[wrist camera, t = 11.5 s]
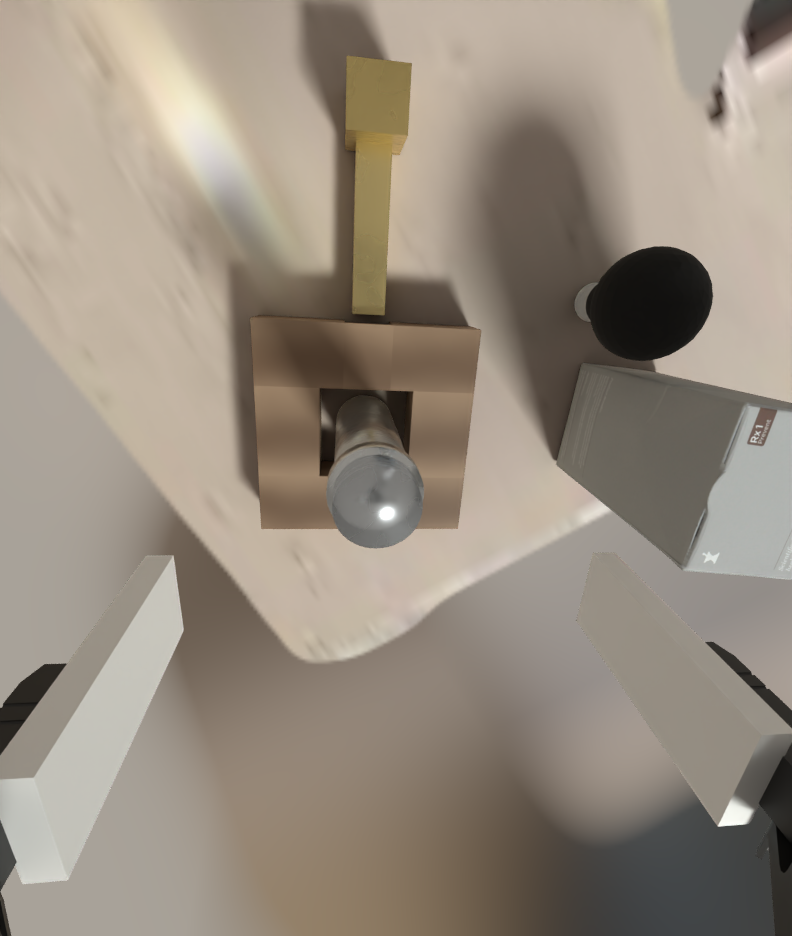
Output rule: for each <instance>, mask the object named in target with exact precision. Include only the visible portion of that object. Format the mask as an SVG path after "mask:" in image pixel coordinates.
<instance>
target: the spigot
mask: <svg viewBox="0 0 792 936" xmlns="http://www.w3.org/2000/svg"><path fill="white" fill-rule="evenodd" d="M326 498H327V504H328V507H329V510H330V512H331V514H332V516H333V519H334V522H335V524H336V526H337V528H338V530H339V531H340V532H341V534H342V535H343V536H344V537H346V538H347V539H348V540H349V541H351V542H353V543H355V544H357V545H359V546H363V547H367V548H384V547H389V546H392V545H395V544H397V543H399V542H401V541H403V540H404V539H405V538H407V537H408V536H409V535H410V534H411V533H412V532H413V531H414V530H415V528H416V527H417V525H418V523H419V521H420V519H421V515H422V510H423V498H424V485H423V481H422V477H421V475H420V473H419V470H418V468H417V466H416V464H415V462H414V461H413V459H412V458H411V457H410V456H409V455H408V454H407V453H406V452H405V450H404V448H403V445H402V442H401V440H400V437H399V434H398V432H397V429H396V426H395V424H394V421H393V418H392V416H391V413H390V411H389V409H388V407H387V406H386V405H385V404H384V403H383V402H382V401H381V400H380V399H378V398H376V397H373V396H369V395H360V396H356V397H353V398H351V399H349V400H348V401H346V402H345V403H344V404H343V405H342V407H341V408H340V410H339V412H338V415H337V420H336V439H335V459H334V464H333V465H332V467H331V469H330V472H329V475H328V479H327V491H326Z"/></svg>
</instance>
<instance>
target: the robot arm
mask: <svg viewBox="0 0 792 936" xmlns="http://www.w3.org/2000/svg"><path fill="white" fill-rule="evenodd" d="M576 621H577V623H578V624H579V625H580V627H581V628H582V630H583V631H584V633H585V634H586V636H587V637H588V639H589V640H590V641H591V643H592V644H593V646H594V647H595V649H596V650H597V652H598V653H599V655H600V656H601V657H602V659H603V660H604V662H605V663H606V665H607V666H608V668H609V669H610V671H611V672H612V673H613V675H614V676H615V678H616V679H617V680H618V682H619V684H620V685H621V686H622V688H623V689H624V691H625V692H626V694H627V695H628V697H629V698H630V700H631V701H632V702H633V704H634V705H635V707H636V708H637V710H638V711H639V712H640V714H641V716H642V717H643V718H644V720H645V721H646V723H647V724H648V725H649V727H650V729H651V730H652V731H653V733H654V734H655V736H656V737H657V739H658V740H659V742H660V743H661V745H662V746H663V748H664V749H665V750H666V752H667V753H668V754H669V756H670V758H671V759H672V761H673V762H674V763H675V765H676V766H677V768H678V769H679V771H680V772H681V773H682V775H683V777H684V778H685V779H686V781H687V782H688V784H689V785H690V787H691V788H692V790H693V791H694V793H695V794H696V795H697V797H698V798H699V799H700V801H701V803H702V804H703V806H704V807H705V808H706V810H707V811H708V813H709V814H710V816H711V817H712V819H713V820H714V822H715V823H716V824H717V826H729V825H741V824H750V822H751V820H752V818H753V816H754V814H755V812H756V810H757V809H758V807H759V805H760V806H761V807H762V808H763V809H764V811H765V812H766V813H767V814H768V816H769V817H770V818H771V819H772V822H771V824H770V825H769V827H768V829H767V831H766V833H765V835H764V837H763V838H762V840H761V842H760V844H759V846H758V848H757V851H756V857H758V858H760V859H762V858H763V856H764V854H765V852H766V851H767V850H769V859H770V873H771V886H772V900H773V912H774V927H775V936H792V710H791V709H790V708H789V707H788V706H787V705H785V704H784V703H783V702H782V701H781V700H780V699H779V698H778V697H777V696H776V695H775V694H774V693H773V692H772V691H771V690H770V689H766V687H765V685H764V684H763V683H762V682H761V681H760V680H759V679H758V678H757V677H756V676H755V675H752V674H751V671H750V670H749V669H748V668H747V667H746V666H745V665H744V664H742V663H741V662H740V661H739V660H738V659H737V658H736V657H735V656H734V655H732V654H731V653H729V652H727V651H726V650H725V649H723V648H721V647H720V646H718V645H717V644H715V643H714V642H704V641H703V640H702V639H701V638H700V637H699V636H698V635H697V634H696V633H695V632H694V631H693V630H692V629H691V628H690V627H689V626H688V625H687V624H686V623H685V622H684V621H683V620H682V619H681V618H680V617H679V616H678V615H677V614H676V613H675V612H674V611H673V610H672V609H671V608H670V607H669V606H668V605H667V604H666V603H665V602H664V601H663V600H662V599H661V598H660V597H659V596H658V595H657V594H656V593H655V592H654V591H653V590H652V589H651V588H650V587H649V586H648V585H647V584H646V583H645V582H644V581H643V580H642V579H641V578H640V577H639V576H638V575H637V574H636V573H635V572H634V571H633V570H632V569H631V568H630V567H629V566H628V565H627V564H626V563H625V562H624V561H623V560H622V559H621V558H620V557H619V556H618V555H617V554H616V553H593V555H592V559H591V563H590V567H589V571H588V575H587V579H586V583H585V587H584V591H583V595H582V599H581V603H580V608H579V612H578V615H577V620H576ZM183 631H184V629H183V622H182V614H181V607H180V600H179V593H178V585H177V578H176V571H175V564H174V556H173V555H169V556H168V555H167V556H165V555H162V556H146V557H145V558H144V559H143V560H142V562H141V563H140V565H139V566H138V567H137V569H136V570H135V572H134V573H133V574H132V576H131V577H130V578H129V580H128V581H127V582H126V584H125V585H124V586H123V588H122V589H121V591H120V592H119V593H118V595H117V596H116V598H115V599H114V600H113V602H112V603H111V605H110V606H109V607H108V609H107V610H106V611H105V613H104V614H103V615H102V617H101V618H100V619H99V621H98V622H97V624H96V625H95V626H94V628H93V629H92V631H91V632H90V633H89V634H88V636H87V637H86V639H85V640H84V641H83V643H82V644H81V645H80V647H79V648H78V650H77V651H76V652H75V654H74V655H73V657H72V658H71V659H70V661H69V662H68V663H67V664H44V665H43V666H42V667H40V668H39V669H38V670H36V671H35V672H34V673H32V674H31V675H30V676H29V677H27V678H26V679H25V680H23V681H22V682H20V684H19V685H18V686H17V687H16V689H15V690H14V691H13V692H12V693H11V695H10V696H9V697H8V698H7V700H6V701H5V702H4V703H3V707H2V708H0V891H1V889H2V887H3V885H4V884H5V882H6V880H7V878H8V877H9V875H10V873H11V871H12V869H13V868H14V866H16V868H17V871H18V874H19V876H20V878H21V881H22V883H23V884H30V883H42V882H54V881H65V880H68V879H69V877H70V875H71V872H72V870H73V868H74V866H75V864H76V862H77V860H78V857H79V855H80V853H81V851H82V849H83V847H84V844H85V842H86V840H87V838H88V836H89V834H90V832H91V829H92V827H93V825H94V823H95V821H96V818H97V816H98V814H99V812H100V810H101V808H102V805H103V803H104V801H105V799H106V797H107V795H108V793H109V791H110V788H111V786H112V784H113V782H114V780H115V777H116V775H117V773H118V771H119V769H120V767H121V764H122V762H123V760H124V758H125V756H126V754H127V752H128V749H129V747H130V745H131V743H132V741H133V739H134V737H135V734H136V732H137V730H138V728H139V726H140V724H141V721H142V719H143V717H144V715H145V713H146V711H147V708H148V706H149V704H150V702H151V700H152V698H153V696H154V693H155V691H156V689H157V687H158V685H159V683H160V680H161V678H162V676H163V674H164V672H165V669H166V667H167V665H168V663H169V661H170V659H171V657H172V654H173V652H174V650H175V648H176V646H177V644H178V642H179V639H180V637H181V635H182V633H183ZM0 936H11V932H10V928H9V923H8V919H7V914H6V909H5V904H4V899H3V897H2V895H1V892H0Z"/></svg>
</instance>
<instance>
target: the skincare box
mask: <svg viewBox="0 0 792 936" xmlns="http://www.w3.org/2000/svg"><path fill="white" fill-rule="evenodd" d="M556 465H557V466H558V467H560V468H561V469H562V470H563V471H564V472H566V473H567V474H568V475H569V476H570V477H572V478H573V479H574V480H575V481H576V482H578V483H579V484H580V485H581V486H583V487H584V488H585V489H586V490H588V491H589V492H590V493H591V494H593V495H594V496H595V497H596V498H597V499H599V500H600V501H601V502H602V503H603V504H605V505H606V506H607V507H608V508H609V509H611V510H612V511H613V512H614V513H616V514H617V515H618V516H620V517H621V518H622V519H623V520H624V521H625V522H627V523H628V524H629V525H631V526H632V527H633V528H634V529H635V530H637V531H638V532H639V533H640V534H641V535H643V536H644V537H645V538H646V539H647V540H648V541H650V542H651V543H652V544H653V545H655V546H656V547H657V548H658V549H659V550H661V551H662V552H663V553H664V554H665V555H666V556H667V557H669V558H670V559H671V560H672V561H673V562H674V563H675V564H676V565H677V566H678V567H679V568H680V569H681V570H683V571H693V572H708V573H720V574H732V575H745V576H760V577H769V578H778V579H792V403H789V402H784V401H780V400H775V399H771V398H767V397H762V396H758V395H753V394H749V393H745V392H740V391H735V390H731V389H726V388H722V387H718V386H713V385H709V384H704V383H700V382H695V381H691V380H686V379H682V378H678V377H673V376H669V375H665V374H660V373H657V372H652V371H645V370H638V369H631V368H623V367H614V366H606V365H597V364H589V363H582V365H581V368H580V372H579V376H578V380H577V384H576V388H575V392H574V396H573V400H572V404H571V408H570V412H569V416H568V419H567V423H566V427H565V431H564V435H563V439H562V443H561V447H560V451H559V455H558V459H557V463H556Z"/></svg>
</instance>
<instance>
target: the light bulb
mask: <svg viewBox="0 0 792 936" xmlns="http://www.w3.org/2000/svg"><path fill="white" fill-rule="evenodd" d="M712 299H713V292H712V283H711V280H710V277H709V274H708V272H707V270H706V269H705V268H704V266H703V265H702V264H701V263H700V261H699V260H697V259H696V258H695V257H694V256H693V255H691V254H689V253H687V252H685V251H682V250H680V249H677V248H673V247H664V246H661V247H651V248H646V249H641V250H638V251H636V252H633V253H631V254H629V255H627V256H625V257H623V258H622V259H620V260H619V261H618V262H616V263H615V264H614V265H613V266H612V267H611V268H610V269H609V270H608V271H607V272H606V273H605V274H604V276H603V277H602V278H601V279H600V281H599V283H590V284H587V285H586V286H585V287H583V288H582V289H581V290H580V291H579V293H578V294H577V296H576V298H575V304H574V307H575V312H576V314H577V315H578V317H579V318H581V319H582V320H584V321H588V322H591V325H592V328H593V331H594V333H595V335H596V337H597V338H598V340H599V341H600V343H601V344H602V345H603V346H604V347H605V348H606V349H608V350H609V351H611V352H612V353H614V354H616V355H618V356H620V357H622V358H626V359H631V360H639V361H645V360H653V359H658V358H662V357H665V356H667V355H670V354H672V353H674V352H676V351H677V350H679V349H680V348H682V347H684V346H685V345H687V344H688V343H689V342H690V341H691V340H692V339H694V337H695V336H696V335H697V334H698V332H699V331H700V330H701V329H702V327H703V325H704V324H705V322H706V320H707V318H708V316H709V313H710V309H711V305H712Z"/></svg>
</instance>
